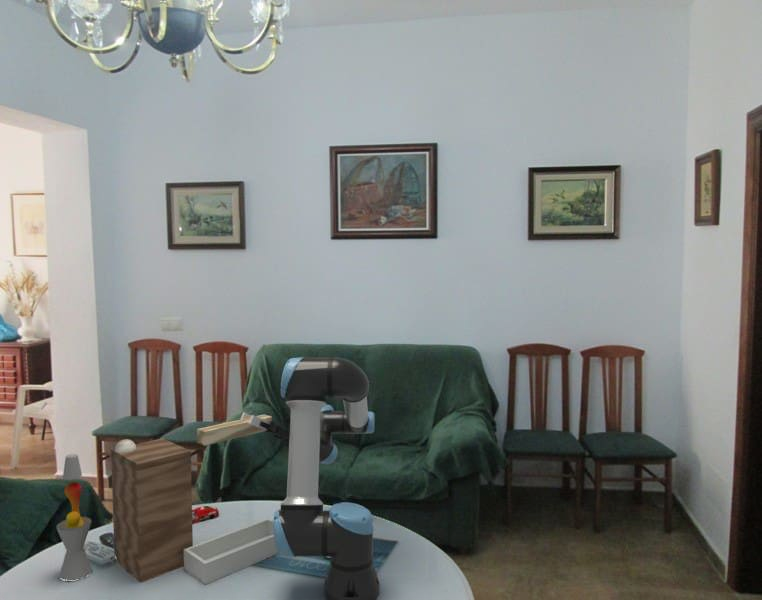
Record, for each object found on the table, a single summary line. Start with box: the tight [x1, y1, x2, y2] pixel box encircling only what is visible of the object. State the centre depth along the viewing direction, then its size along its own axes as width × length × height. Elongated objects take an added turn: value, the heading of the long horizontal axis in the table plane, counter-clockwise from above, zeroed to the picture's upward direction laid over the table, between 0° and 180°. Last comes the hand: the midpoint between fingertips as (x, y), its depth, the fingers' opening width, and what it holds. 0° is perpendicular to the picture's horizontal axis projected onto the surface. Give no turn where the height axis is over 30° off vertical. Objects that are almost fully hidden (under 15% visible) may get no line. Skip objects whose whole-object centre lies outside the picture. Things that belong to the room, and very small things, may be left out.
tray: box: [183, 517, 279, 585], centre depth 183 cm, size 12×30×6 cm, turn 136°
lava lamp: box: [55, 453, 93, 580], centre depth 173 cm, size 9×9×35 cm
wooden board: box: [196, 414, 273, 446], centre depth 180 cm, size 4×23×4 cm, turn 136°
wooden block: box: [110, 437, 194, 583], centre depth 180 cm, size 18×16×37 cm
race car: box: [192, 505, 220, 524], centre depth 211 cm, size 13×5×4 cm, turn 123°
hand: (246, 418), depth 183 cm, fingers closed on wooden board, 4 cm apart
